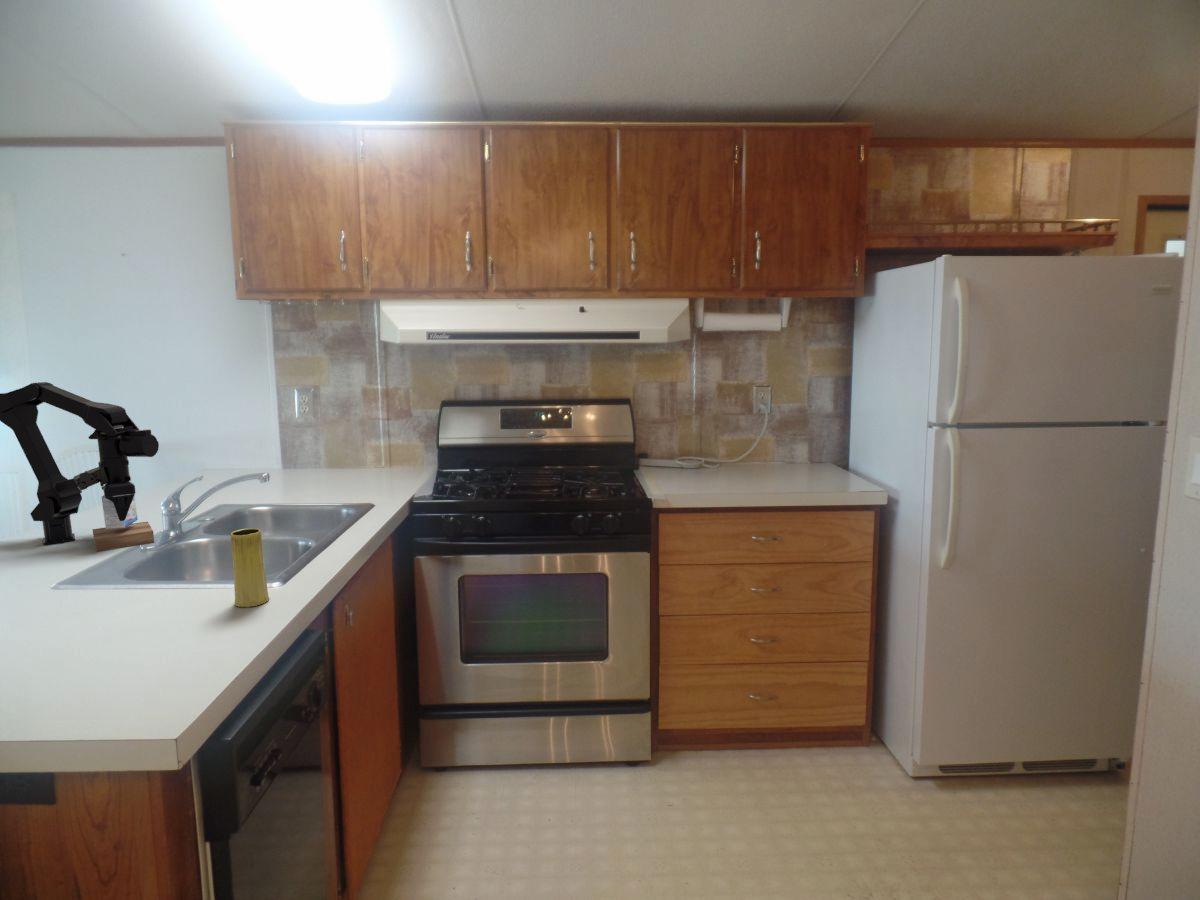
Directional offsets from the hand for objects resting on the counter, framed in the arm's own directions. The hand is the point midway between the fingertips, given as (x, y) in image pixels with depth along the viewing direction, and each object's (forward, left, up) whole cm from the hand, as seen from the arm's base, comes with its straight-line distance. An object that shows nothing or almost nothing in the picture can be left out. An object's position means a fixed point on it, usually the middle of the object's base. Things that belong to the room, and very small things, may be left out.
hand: (120, 517), depth 178 cm
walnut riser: (0, 0, -6) cm, 6 cm away
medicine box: (0, 0, -2) cm, 2 cm away
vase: (+66, +16, -7) cm, 68 cm away
